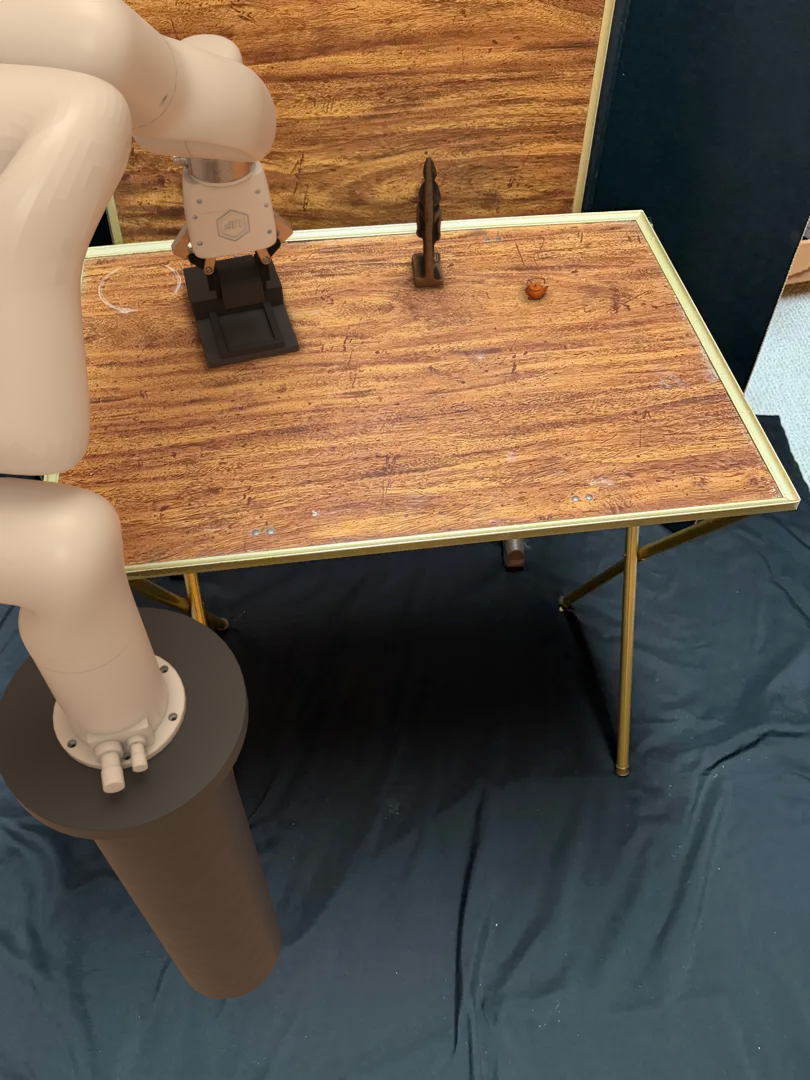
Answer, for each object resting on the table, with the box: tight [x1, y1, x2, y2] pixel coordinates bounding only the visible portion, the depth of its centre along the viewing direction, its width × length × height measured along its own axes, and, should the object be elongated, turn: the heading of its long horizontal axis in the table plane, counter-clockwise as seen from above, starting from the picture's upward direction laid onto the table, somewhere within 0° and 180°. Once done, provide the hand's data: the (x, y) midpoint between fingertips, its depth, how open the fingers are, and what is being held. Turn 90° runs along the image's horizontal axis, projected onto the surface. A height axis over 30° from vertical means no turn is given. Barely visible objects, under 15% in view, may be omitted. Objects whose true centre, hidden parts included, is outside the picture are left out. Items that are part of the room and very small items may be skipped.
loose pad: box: [215, 253, 265, 309], centre depth 122 cm, size 6×5×3 cm
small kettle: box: [523, 277, 550, 301], centre depth 134 cm, size 3×3×3 cm
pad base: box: [182, 255, 300, 369], centre depth 129 cm, size 16×12×4 cm
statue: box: [411, 156, 445, 287], centre depth 129 cm, size 4×7×20 cm, turn 5°
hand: (239, 287), depth 123 cm, fingers closed on loose pad, 5 cm apart
